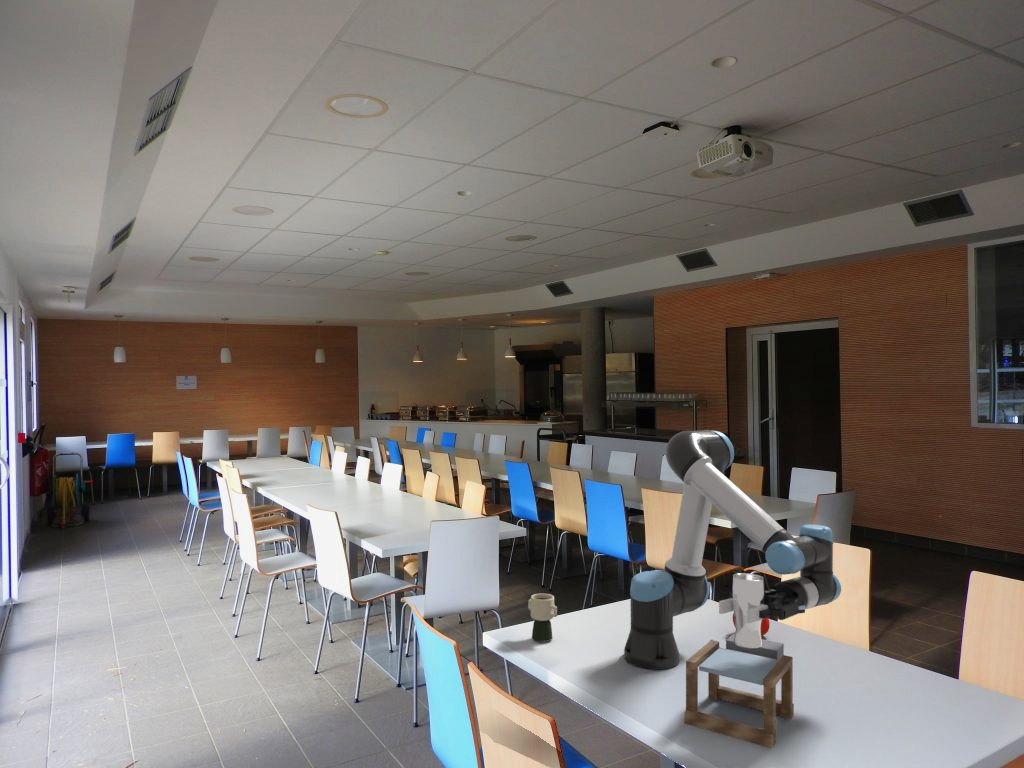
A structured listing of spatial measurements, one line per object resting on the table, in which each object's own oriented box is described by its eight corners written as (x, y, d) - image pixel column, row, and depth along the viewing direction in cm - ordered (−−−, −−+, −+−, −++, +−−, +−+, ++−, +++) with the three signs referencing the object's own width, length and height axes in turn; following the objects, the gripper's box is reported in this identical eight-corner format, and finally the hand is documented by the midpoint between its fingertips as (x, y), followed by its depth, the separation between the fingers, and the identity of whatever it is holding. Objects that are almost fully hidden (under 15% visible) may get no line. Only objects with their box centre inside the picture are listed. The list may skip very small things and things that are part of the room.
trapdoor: (788, 661, 165) (788, 644, 165) (763, 692, 147) (763, 673, 147) (729, 648, 173) (729, 632, 173) (699, 677, 155) (699, 659, 155)
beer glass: (726, 638, 158) (727, 572, 158) (755, 638, 159) (756, 572, 159) (739, 649, 151) (739, 581, 151) (769, 649, 152) (770, 580, 152)
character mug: (563, 641, 206) (564, 597, 206) (548, 647, 201) (549, 602, 201) (536, 632, 213) (536, 590, 214) (520, 638, 208) (521, 595, 208)
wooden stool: (684, 723, 154) (684, 662, 155) (712, 693, 170) (712, 638, 170) (772, 748, 143) (772, 682, 144) (793, 714, 159) (793, 655, 159)
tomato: (730, 637, 211) (730, 609, 211) (737, 627, 220) (737, 600, 220) (766, 644, 206) (766, 614, 206) (772, 633, 215) (772, 605, 215)
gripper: (833, 622, 157) (773, 642, 144) (758, 600, 173) (698, 616, 160) (833, 589, 157) (773, 606, 144) (758, 571, 173) (698, 584, 160)
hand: (734, 611), depth 152 cm, fingers closed on beer glass, 7 cm apart
